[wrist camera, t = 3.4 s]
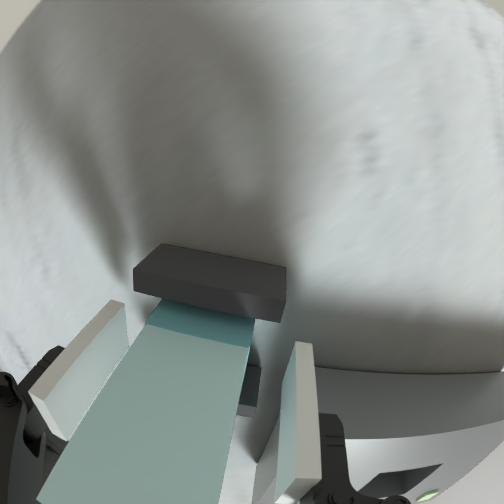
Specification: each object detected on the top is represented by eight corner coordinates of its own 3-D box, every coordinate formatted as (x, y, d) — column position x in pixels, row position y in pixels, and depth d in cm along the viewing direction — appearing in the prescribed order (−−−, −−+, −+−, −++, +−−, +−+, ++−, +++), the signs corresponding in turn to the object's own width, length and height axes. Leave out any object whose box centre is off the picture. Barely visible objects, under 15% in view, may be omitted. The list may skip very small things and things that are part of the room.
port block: (256, 466, 20) (249, 515, 15) (298, 364, 15) (299, 442, 10) (422, 464, 20) (431, 502, 15) (503, 371, 15) (530, 414, 10)
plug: (176, 340, 16) (84, 531, 4) (177, 277, 14) (33, 497, 3) (246, 356, 15) (202, 571, 4) (259, 294, 14) (206, 569, 3)
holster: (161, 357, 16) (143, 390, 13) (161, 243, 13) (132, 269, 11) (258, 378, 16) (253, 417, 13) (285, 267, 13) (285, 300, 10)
